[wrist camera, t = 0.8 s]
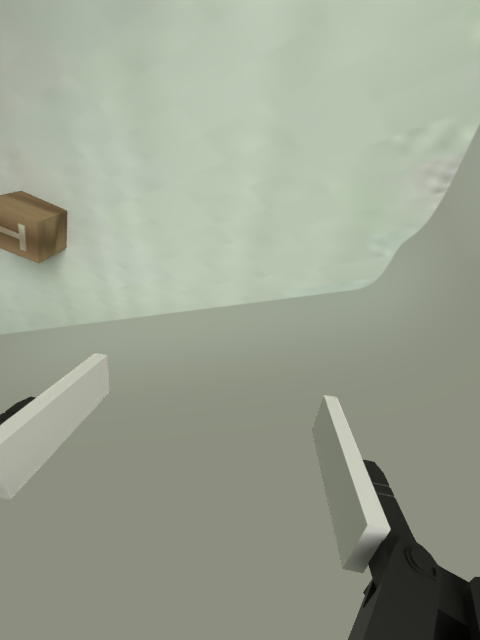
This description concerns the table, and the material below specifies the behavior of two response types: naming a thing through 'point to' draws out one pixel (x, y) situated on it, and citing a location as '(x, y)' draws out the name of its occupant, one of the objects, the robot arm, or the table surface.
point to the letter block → (31, 226)
